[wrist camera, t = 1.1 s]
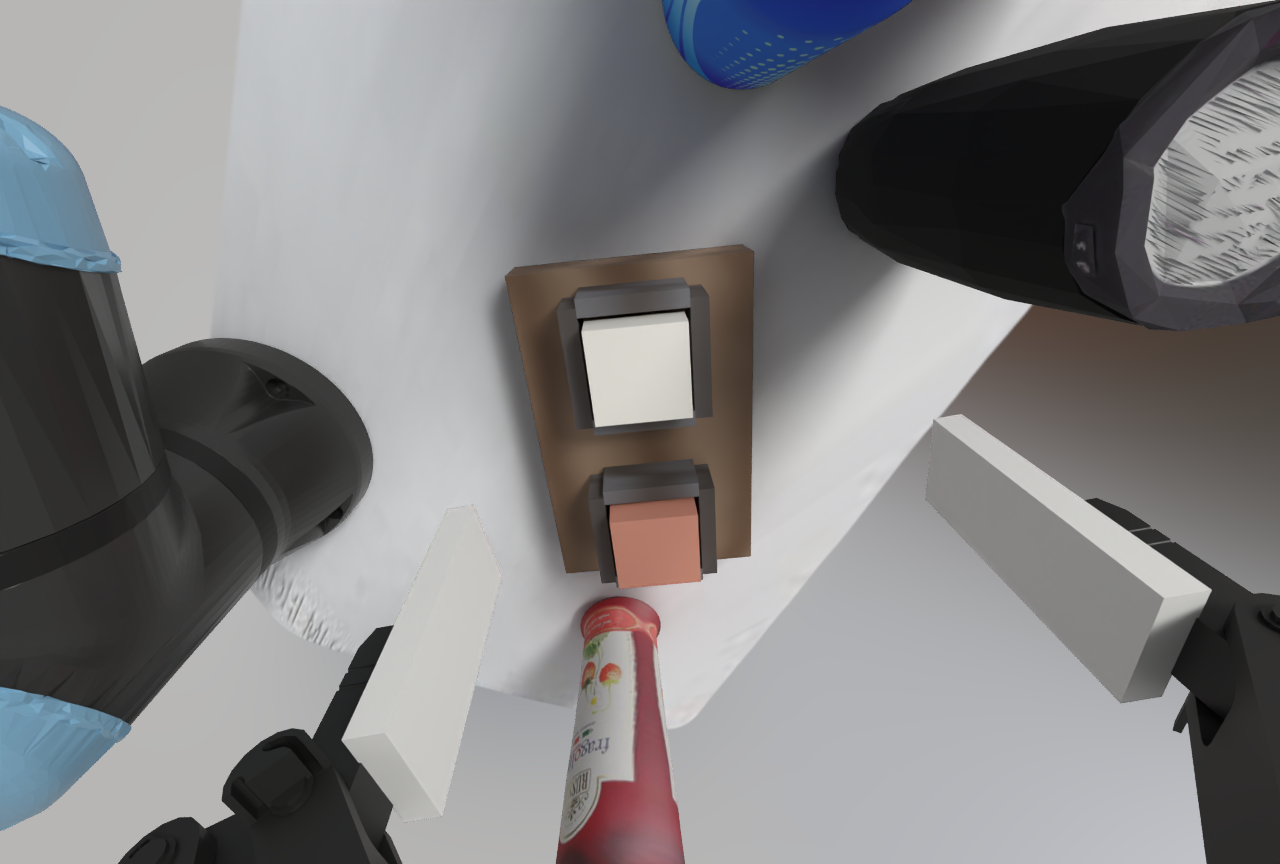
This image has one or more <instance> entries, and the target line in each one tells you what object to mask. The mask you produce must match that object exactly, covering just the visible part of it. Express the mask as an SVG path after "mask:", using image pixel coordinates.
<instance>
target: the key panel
mask: <svg viewBox="0 0 1280 864" xmlns="http://www.w3.org/2000/svg"><path fill="white" fill-rule="evenodd" d="M505 279H506V284H507V289H508V294H509V298H510V303H511V308H512V313H513V318H514V323H515V327H516V332H517V337H518V342H519V347H520V352H521V356H522V361H523V366H524V371H525V376H526V381H527V385H528V390H529V395H530V400H531V405H532V410H533V415H534V419H535V424H536V429H537V434H538V439H539V444H540V448H541V453H542V458H543V463H544V468H545V473H546V477H547V482H548V487H549V492H550V497H551V502H552V506H553V511H554V516H555V521H556V526H557V531H558V535H559V540H560V545H561V550H562V555H563V560H564V565H565V569H566V573H575V572H586V571H597V570H600V575H601V581H602V583H612V582H616V584H617V587H619V584H618V577H617V570H616V563H615V557H614V550H613V543H612V536H611V529H610V505H612V504H623V503H633V502H644V501H655V500H665V499H676V498H686V497H694V500H695V505H696V509H697V514H698V530H699V551H700V572H701V580H703V574H709V573H717V559H727V558H737V557H748V556H751V474H752V382H753V290H754V251H752V250H751V249H749V248H747V247H746V246H744V245H743V244H742V245H732V246H722V247H712V248H702V249H692V250H682V251H672V252H662V253H652V254H642V255H633V256H623V257H613V258H603V259H593V260H583V261H573V262H563V263H553V264H543V265H533V266H523V267H515V268H514V269H512V270H511V271H510V272H509V273H508V274H507V275H506V276H505ZM681 311H684V312H685V314H686V317H687V319H688V322H689V343H690V363H691V384H692V405H693V418H685V419H674V420H664V421H653V422H643V423H633V424H622V425H612V426H601V427H595V420H594V414H593V407H592V400H591V393H590V386H589V380H588V373H587V366H586V359H585V352H584V346H583V339H582V327H583V323H584V321H590V320H600V319H611V318H621V317H631V316H641V315H651V314H661V313H671V312H681Z"/></svg>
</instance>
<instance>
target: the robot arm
mask: <svg viewBox="0 0 1280 864" xmlns="http://www.w3.org/2000/svg"><path fill="white" fill-rule="evenodd" d="M119 272H121V261H120V258H119V257H118V256H117V255H116V254H114V253H113V252H112V251H110V249H109V246H108V243H107V241H106V238H105V235H104V232H103V229H102V226H101V223H100V220H99V218H98V215H97V212H96V209H95V206H94V203H93V200H92V197H91V194H90V192H89V189H88V186H87V183H86V180H85V177H84V174H83V172H82V170H81V168H80V166H79V164H78V163H77V161H76V160H75V158H74V156H73V155H72V154H71V153H70V151H69V150H68V149H67V148H66V147H65V146H64V145H63V144H62V143H61V142H60V141H59V140H58V139H57V138H56V137H55V136H54V135H52V134H51V133H50V132H49V131H47V130H46V129H44V128H43V127H41V126H40V125H39V124H37V123H35V122H34V121H32V120H30V119H28V118H27V117H25V116H22V115H20V114H19V113H17V112H15V111H12V110H10V109H8V108H5V107H2V106H0V831H1V830H5V829H7V828H9V827H11V826H13V825H15V824H17V823H19V822H21V821H23V820H25V819H28V818H30V817H32V816H34V815H36V814H39V813H40V812H42V811H44V810H45V809H47V808H48V807H49V806H51V805H52V804H53V803H54V802H55V801H57V800H58V799H59V798H60V797H61V796H62V795H63V794H64V793H65V792H66V791H67V790H68V789H69V788H70V787H71V786H72V785H73V784H74V783H75V782H76V781H77V780H78V779H79V778H80V777H81V776H82V775H83V774H84V773H85V772H87V771H88V770H89V768H91V767H92V765H94V763H96V762H97V761H98V760H99V759H100V758H101V757H102V756H103V755H104V754H105V753H106V752H107V751H108V750H109V749H110V748H111V747H112V746H113V745H114V744H115V743H117V742H119V741H121V740H122V739H123V738H124V737H125V736H126V735H127V734H128V733H129V731H130V730H131V726H130V725H131V724H132V723H133V721H134V720H135V719H136V718H137V717H138V716H139V715H140V713H141V712H142V711H143V710H144V709H145V708H146V706H147V705H148V704H149V703H150V702H151V701H152V700H153V698H154V697H155V696H156V695H157V694H158V693H159V691H160V690H161V689H162V688H163V687H164V686H165V685H166V683H167V682H168V681H169V680H170V679H171V678H172V676H173V675H174V674H175V673H176V672H177V671H178V669H179V668H180V667H181V666H182V665H183V663H184V662H185V661H186V660H187V659H188V658H189V657H190V655H192V653H193V652H194V651H195V650H196V649H197V648H198V647H199V645H200V644H201V643H202V642H203V641H204V640H205V639H206V637H207V636H208V635H209V634H210V633H211V632H212V631H213V629H214V628H215V627H216V626H217V625H218V624H219V623H220V621H221V620H222V619H223V618H224V617H225V616H226V614H227V613H228V612H229V611H230V610H231V609H232V608H233V607H234V606H235V604H236V603H237V602H238V601H239V600H240V598H242V596H243V595H244V594H245V593H246V592H247V591H248V590H249V588H250V587H251V586H252V585H253V583H254V582H255V581H256V580H257V579H258V578H259V577H260V576H261V574H262V573H263V572H264V571H265V570H266V569H267V568H268V567H269V566H270V565H272V564H273V563H275V562H277V561H279V560H281V559H282V558H284V557H286V556H288V555H290V554H291V553H293V552H295V551H297V550H298V549H300V548H302V547H304V546H306V545H307V544H309V543H311V542H313V541H315V540H316V539H318V538H320V537H322V536H324V535H325V534H327V533H328V532H330V531H332V530H333V529H334V528H335V527H337V526H338V525H339V524H340V523H341V522H342V521H343V520H345V518H346V517H347V516H348V515H349V514H350V513H351V511H352V510H353V509H354V507H355V506H356V505H357V504H358V502H359V501H360V500H361V498H362V497H363V496H364V494H365V492H366V490H367V488H368V486H369V483H370V480H371V476H372V470H373V453H372V447H371V443H370V439H369V436H368V433H367V430H366V428H365V426H364V424H363V422H362V420H361V418H360V416H359V414H358V413H357V411H356V410H355V408H354V407H353V405H352V404H351V403H350V401H349V400H348V399H347V398H346V396H345V395H344V394H343V393H342V392H341V391H340V390H339V389H338V388H337V387H336V386H335V385H334V384H333V383H332V382H331V381H330V380H329V379H327V378H326V377H325V376H324V375H322V374H321V373H320V372H319V371H317V370H316V369H314V368H313V367H311V366H310V365H308V364H307V363H305V362H303V361H302V360H300V359H298V358H296V357H294V356H292V355H290V354H288V353H286V352H284V351H281V350H279V349H276V348H273V347H270V346H267V345H264V344H260V343H257V342H252V341H247V340H241V339H230V338H215V339H205V340H199V341H195V342H191V343H189V344H185V345H183V346H180V347H178V348H175V349H173V350H171V351H168V352H166V353H163V354H161V355H159V356H156V357H154V358H152V359H151V360H149V361H147V362H146V363H144V364H143V365H142V364H141V360H140V357H139V353H138V349H137V346H136V342H135V339H134V335H133V332H132V328H131V324H130V321H129V318H128V314H127V310H126V306H125V303H124V299H123V296H122V292H121V288H120V284H119V280H118V276H117V273H119ZM925 499H926V501H928V502H929V504H930V505H931V506H932V507H933V508H934V509H935V510H936V511H937V512H938V513H939V514H940V515H941V516H942V517H943V518H944V519H945V520H946V521H947V522H948V523H949V525H950V526H951V527H952V528H953V529H954V530H955V531H956V532H957V533H958V534H959V535H960V536H961V537H962V538H963V539H964V540H965V541H966V542H967V543H968V544H969V546H970V547H971V548H973V550H974V551H975V552H976V553H977V554H978V555H979V556H980V557H981V558H982V559H983V560H984V561H985V562H986V563H987V564H988V565H989V566H990V567H991V569H992V570H993V571H994V572H995V573H996V574H998V576H999V577H1000V578H1001V579H1002V580H1003V581H1004V582H1005V583H1006V584H1007V585H1008V586H1009V587H1010V588H1011V589H1012V590H1013V591H1014V592H1015V594H1016V595H1018V597H1019V598H1020V599H1021V600H1022V601H1023V602H1024V603H1025V604H1026V605H1027V606H1028V607H1029V608H1030V609H1031V610H1032V611H1033V612H1034V613H1035V614H1036V616H1037V617H1038V618H1039V619H1040V620H1041V621H1042V622H1043V623H1044V624H1045V625H1046V626H1047V627H1048V628H1049V629H1050V630H1051V631H1052V632H1053V633H1054V634H1055V635H1056V636H1057V637H1058V638H1059V640H1060V641H1061V642H1062V643H1063V644H1064V645H1065V646H1066V647H1067V648H1068V649H1069V650H1070V651H1071V652H1072V653H1073V654H1074V655H1075V656H1076V657H1077V658H1078V659H1079V660H1080V662H1081V663H1082V664H1083V665H1084V666H1085V667H1086V668H1087V669H1088V670H1089V671H1090V672H1091V673H1092V674H1093V675H1094V676H1095V677H1096V678H1097V679H1098V680H1099V681H1100V682H1101V684H1102V685H1103V686H1104V687H1105V688H1106V689H1107V690H1108V691H1109V692H1110V693H1111V694H1112V695H1113V696H1114V697H1115V698H1116V699H1117V700H1118V701H1119V702H1120V703H1126V702H1132V701H1138V700H1144V699H1150V698H1156V697H1161V696H1162V695H1163V693H1164V691H1165V688H1166V686H1167V684H1168V682H1169V680H1170V678H1171V676H1172V675H1173V676H1174V677H1175V678H1176V679H1177V680H1179V681H1180V682H1181V683H1182V684H1183V685H1184V686H1185V687H1187V689H1189V690H1190V692H1189V694H1188V696H1187V698H1186V700H1185V702H1184V704H1183V706H1182V708H1181V710H1180V712H1179V714H1178V716H1177V718H1176V720H1175V723H1174V727H1173V731H1177V732H1179V733H1181V732H1182V730H1183V729H1184V727H1185V725H1186V723H1188V727H1189V734H1190V742H1191V749H1192V757H1193V765H1194V772H1195V780H1196V787H1197V795H1198V802H1199V809H1200V817H1201V825H1202V831H1203V840H1204V847H1205V854H1206V862H1207V864H1280V596H1279V595H1272V594H1265V593H1259V594H1253V593H1251V592H1249V591H1248V590H1246V589H1245V588H1243V587H1242V586H1240V585H1239V584H1237V583H1236V582H1234V581H1233V580H1231V579H1230V578H1228V577H1227V576H1225V575H1224V574H1222V573H1221V572H1219V571H1218V570H1216V569H1215V568H1213V567H1212V566H1210V565H1209V564H1207V563H1206V562H1204V561H1203V560H1201V559H1200V558H1198V557H1197V556H1195V555H1193V554H1192V553H1191V552H1189V551H1187V550H1186V549H1184V548H1183V547H1182V546H1180V545H1179V544H1177V543H1176V542H1175V543H1172V542H1171V541H1170V539H1169V538H1168V537H1166V536H1165V535H1163V534H1162V533H1160V532H1159V531H1157V530H1156V529H1153V530H1152V529H1151V527H1150V525H1148V524H1147V523H1145V522H1144V521H1142V520H1141V519H1139V518H1138V517H1136V516H1135V515H1133V514H1132V513H1130V512H1129V511H1127V510H1125V509H1123V508H1120V507H1118V506H1115V505H1113V504H1110V503H1108V502H1105V501H1103V500H1100V499H1098V498H1095V499H1089V500H1083V499H1082V498H1080V497H1078V496H1077V495H1076V494H1074V493H1073V492H1072V491H1070V490H1068V489H1067V488H1066V487H1064V486H1063V485H1062V484H1060V483H1059V482H1057V481H1056V480H1054V479H1053V478H1052V477H1050V476H1049V475H1047V474H1046V473H1044V472H1043V471H1041V470H1040V469H1039V468H1037V467H1036V466H1034V465H1033V464H1031V463H1030V462H1029V461H1027V460H1026V459H1024V458H1023V457H1022V456H1020V455H1018V454H1017V453H1016V452H1014V451H1013V450H1012V449H1010V448H1008V447H1007V446H1006V445H1004V444H1003V443H1002V442H1000V441H999V440H997V439H996V438H995V437H993V436H992V435H990V434H989V433H987V432H986V431H984V430H983V429H982V428H980V427H979V426H977V425H976V424H974V423H973V422H972V421H970V420H969V419H967V418H966V417H965V416H963V415H962V414H959V415H954V416H948V417H943V418H937V419H933V430H932V439H931V449H930V460H929V468H928V479H927V488H926V498H925ZM501 580H502V573H501V571H500V568H499V566H498V563H497V561H496V558H495V556H494V554H493V551H492V549H491V546H490V544H489V541H488V539H487V536H486V534H485V532H484V529H483V527H482V524H481V522H480V519H479V517H478V514H477V512H476V510H475V507H474V505H468V506H462V507H457V508H451V509H447V511H446V513H445V515H444V518H443V520H442V522H441V524H440V526H439V528H438V531H437V533H436V535H435V537H434V539H433V542H432V544H431V546H430V548H429V550H428V552H427V555H426V557H425V559H424V561H423V563H422V566H421V568H420V570H419V572H418V574H417V576H416V579H415V581H414V583H413V585H412V587H411V590H410V592H409V594H408V596H407V598H406V600H405V603H404V605H403V607H402V609H401V611H400V614H399V616H398V618H397V620H396V622H395V624H394V625H392V626H386V627H381V628H376V629H375V631H374V632H373V633H372V634H371V635H370V636H369V637H368V638H367V639H366V641H365V642H364V643H363V644H362V645H361V646H360V647H359V648H358V650H357V652H356V654H355V656H354V658H353V660H352V662H351V664H350V666H349V668H348V673H346V674H345V676H344V678H343V680H342V682H341V684H340V686H339V691H337V692H336V694H335V696H334V698H333V699H332V701H331V703H330V706H329V707H328V709H327V711H326V713H325V715H324V717H323V719H322V721H321V723H320V725H319V727H318V729H317V731H316V733H315V735H314V737H313V739H311V738H310V736H309V735H308V734H307V733H306V732H305V731H304V730H300V729H293V728H292V729H288V730H285V731H281V732H277V733H276V734H274V735H272V736H270V737H269V738H267V739H265V740H263V741H261V742H260V743H259V744H258V745H256V746H255V747H254V748H253V749H252V750H250V751H249V752H248V753H247V754H246V755H245V756H244V757H243V758H242V759H241V760H240V762H239V763H238V764H237V765H236V766H235V767H234V769H233V770H232V771H231V773H230V775H229V777H228V779H227V781H226V783H225V785H224V787H223V794H222V802H224V803H225V804H226V805H227V806H228V807H229V808H230V809H231V810H232V811H233V812H234V813H235V815H232V816H230V817H228V818H226V819H224V820H222V821H220V822H218V823H216V824H214V825H212V826H210V827H208V828H203V827H202V826H201V825H200V824H199V823H198V822H197V821H195V820H194V819H193V818H192V817H180V818H177V819H174V820H172V821H169V822H167V823H164V824H162V825H161V826H159V827H158V828H156V829H155V830H153V831H152V832H151V833H149V834H148V835H146V836H144V837H143V838H142V839H141V840H140V841H139V842H138V843H137V844H136V845H135V846H134V847H132V848H131V849H130V850H129V851H128V852H127V853H126V854H125V856H124V857H123V858H122V859H121V861H120V862H119V863H118V864H402V862H401V860H400V857H399V855H398V853H397V850H396V848H395V846H394V844H393V841H392V839H391V837H390V836H389V835H388V834H387V832H386V831H385V829H386V826H387V823H388V820H389V817H390V814H391V811H392V808H393V809H394V810H395V811H396V813H397V814H398V815H399V817H400V818H401V819H402V820H403V822H404V823H407V822H412V821H419V820H425V819H431V818H437V817H442V816H443V812H444V808H445V803H446V800H447V796H448V792H449V788H450V784H451V780H452V776H453V772H454V768H455V764H456V760H457V756H458V752H459V748H460V744H461V740H462V736H463V731H464V728H465V724H466V720H467V716H468V712H469V708H470V704H471V700H472V696H473V692H474V688H475V684H476V680H477V676H478V672H479V668H480V664H481V660H482V656H483V652H484V648H485V644H486V640H487V636H488V632H489V628H490V624H491V620H492V616H493V612H494V608H495V604H496V600H497V596H498V592H499V588H500V584H501Z"/></svg>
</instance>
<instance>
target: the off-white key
mask: <svg viewBox="0 0 1280 864" xmlns="http://www.w3.org/2000/svg"><path fill="white" fill-rule="evenodd" d="M582 339H583V346H584V352H585V359H586V366H587V373H588V380H589V386H590V393H591V400H592V407H593V414H594V420H595V427H601V426H612V425H622V424H633V423H643V422H653V421H664V420H674V419H685V418H693V405H692V384H691V363H690V343H689V322H688V319H687V317H686V314H685V312H684V311H681V312H671V313H661V314H651V315H641V316H631V317H621V318H611V319H600V320H590V321H584V323H583V327H582Z"/></svg>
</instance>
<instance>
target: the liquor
mask: <svg viewBox="0 0 1280 864" xmlns="http://www.w3.org/2000/svg"><path fill="white" fill-rule="evenodd" d="M660 624H661V623H660V619H659V616H658V615H657V613H656V611H655V610H654V609H653V608H652V607H651V606H649V605H648V604H646V603H644V602H642V601H640V600H637V599H633V598H628V597H614V598H609V599H606V600H603V601H600V602H598V603H596V604H594V605H593V606H592V607H590V608H589V609H588V610H587V611H586V612H585V614H584V615H583V617H582V620H581V625H580V627H581V633H582V635H583V637H584V639H585V640H584V650H583V660H582V669H581V678H580V686H579V694H578V702H577V710H576V719H575V726H574V732H573V739H572V746H571V752H570V760H569V766H568V772H567V779H566V786H565V795H564V803H563V811H562V820H561V828H560V836H559V843H558V851H557V859H556V864H685V860H684V853H683V845H682V839H681V838H682V837H681V830H680V821H679V813H678V805H677V797H676V788H675V780H674V772H673V766H672V759H671V752H670V745H669V739H668V732H667V725H666V718H665V710H664V702H663V694H662V685H661V677H660V668H659V659H658V649H657V639H656V638H657V636H658V634H659V632H660Z"/></svg>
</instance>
